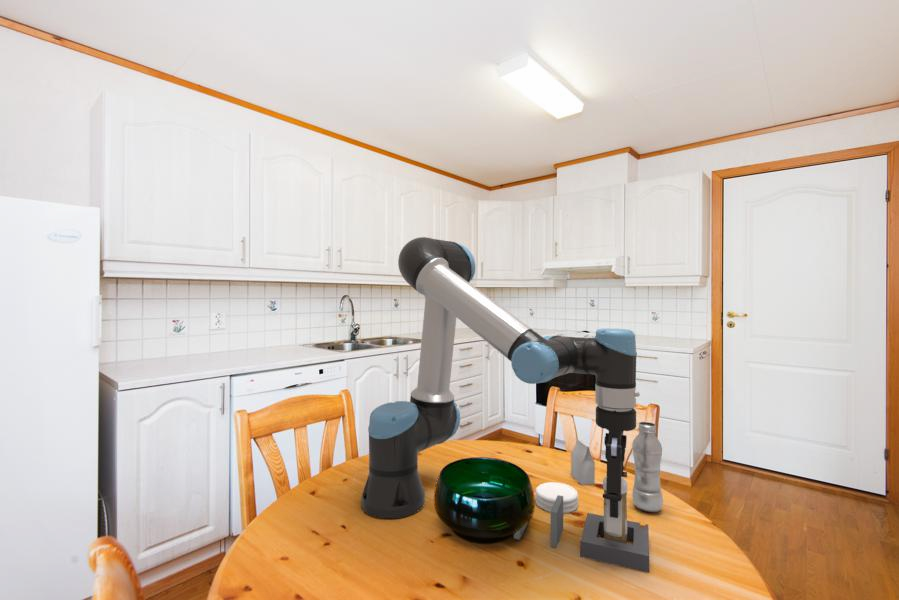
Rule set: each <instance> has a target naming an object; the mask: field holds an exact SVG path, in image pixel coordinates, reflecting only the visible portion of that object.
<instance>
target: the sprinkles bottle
mask: <svg viewBox="0 0 899 600" xmlns="http://www.w3.org/2000/svg"><path fill="white" fill-rule="evenodd" d="M623 478H624V477H621V496H622V535H621V534H616V533H611V532H606V498H603V516H604V536H603V539H608V540H612V541H617V542H622V543H626V544H628V541H627V520H628V513H627V512H628V510H627V508H628V506H627V505H628V500H627V499H628V498H627V495H628V491H629V489H628V482H627V480H626V479H625V478H624V479H623ZM606 485H607V476H604V478H603V479H602V488H603V494H606Z"/></svg>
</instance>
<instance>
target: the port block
mask: <svg viewBox="0 0 899 600" xmlns="http://www.w3.org/2000/svg"><path fill="white" fill-rule="evenodd" d="M649 534H650V531H649V524H647V523H645V522H638V521H637V522H636V521H632V520H628V519H627V544H626V543H622V542H617V541H612V540H608V539H604V515H602V514H601V515H600V514H595V513H589V512H587V513H586V518H585V521H584V525H583V530H582V534H581V538H580V541H579V542H580V548H579V549H580V558H585V559H588V560H593V561H597V562H602V563H605V564H609V565H614V566H617V567H618V566H619V567H623V568H626V569H631V570H636V571H639V572H644V573H647V574H648V573H649V574H650V535H649ZM601 537H602V538H601ZM628 542H629V543H633V544H629V543H628Z"/></svg>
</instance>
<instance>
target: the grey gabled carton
mask: <svg viewBox="0 0 899 600" xmlns="http://www.w3.org/2000/svg"><path fill="white" fill-rule="evenodd" d="M595 465H596V463H595V460H594V458H593V455H592V454H591V450H590V447H589V446H588V445H587V444H586V443H584V442H582V440H580V439H576V442H575V445H574V447H573V449H572V451H571V453H570V475H572V476H573V477H574V478H575V479H574V480H575V481H577V482H578V484H580V486H593V485H595V484H596V483H595V482H596V480H595V479H596V478H595V477H596V476H595V474H596V473H595V469H596V467H595ZM572 476H571V477H572ZM573 477H572V478H573Z"/></svg>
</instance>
